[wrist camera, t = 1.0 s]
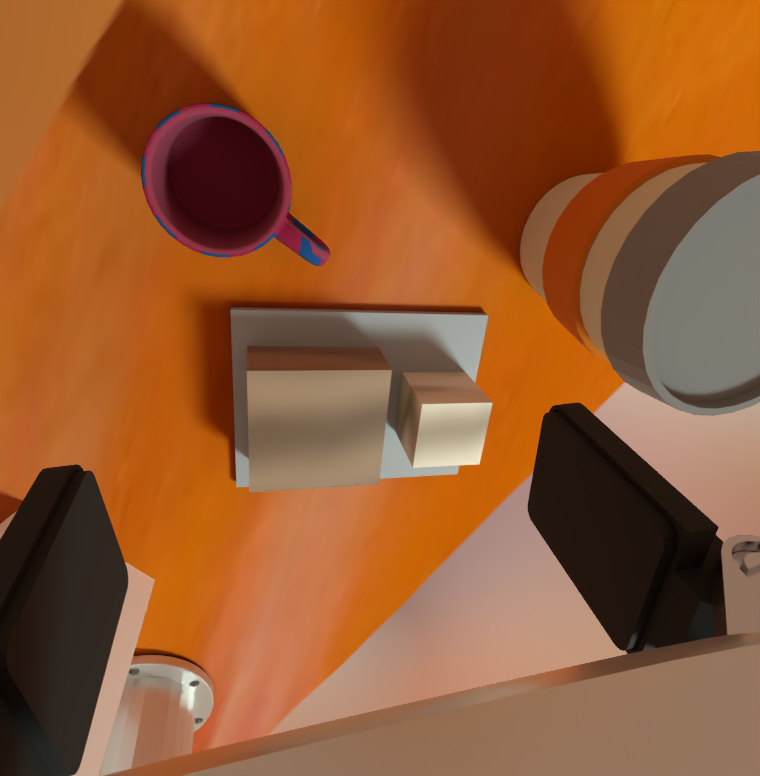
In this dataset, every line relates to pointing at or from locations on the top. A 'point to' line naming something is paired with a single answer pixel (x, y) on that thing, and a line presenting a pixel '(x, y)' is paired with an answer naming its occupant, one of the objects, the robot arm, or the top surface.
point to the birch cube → (441, 418)
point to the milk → (113, 666)
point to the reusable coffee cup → (659, 274)
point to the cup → (222, 184)
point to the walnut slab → (315, 416)
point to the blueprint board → (359, 329)
